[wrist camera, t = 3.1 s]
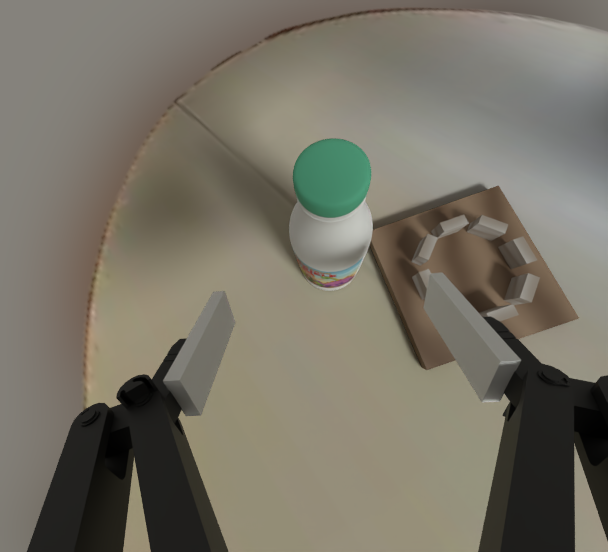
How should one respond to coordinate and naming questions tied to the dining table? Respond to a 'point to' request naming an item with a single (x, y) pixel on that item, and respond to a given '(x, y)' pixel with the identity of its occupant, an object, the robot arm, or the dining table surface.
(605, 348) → the dining table surface
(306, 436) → the dining table surface
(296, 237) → the milk bottle
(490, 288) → the ring seat
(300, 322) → the dining table surface
